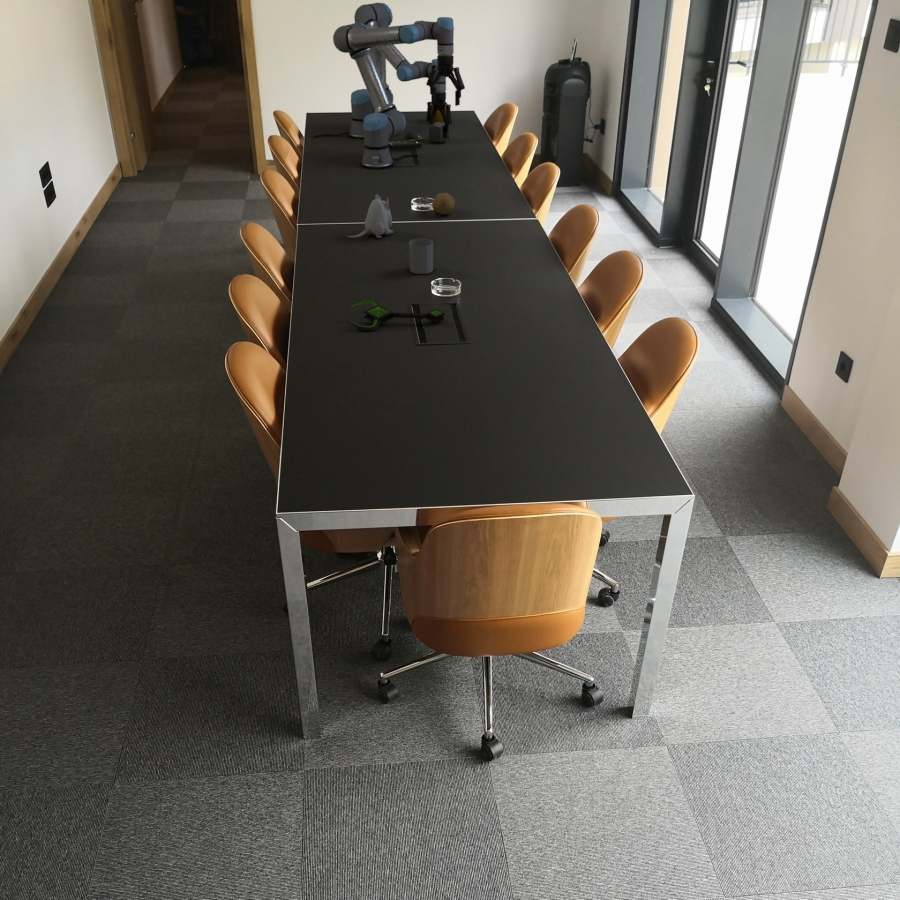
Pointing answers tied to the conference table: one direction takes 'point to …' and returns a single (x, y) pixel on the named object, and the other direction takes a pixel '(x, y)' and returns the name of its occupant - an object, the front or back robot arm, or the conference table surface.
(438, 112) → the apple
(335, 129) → the conference table surface
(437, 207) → the potato
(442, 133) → the gray cube
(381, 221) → the toy
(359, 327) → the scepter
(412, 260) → the cup
